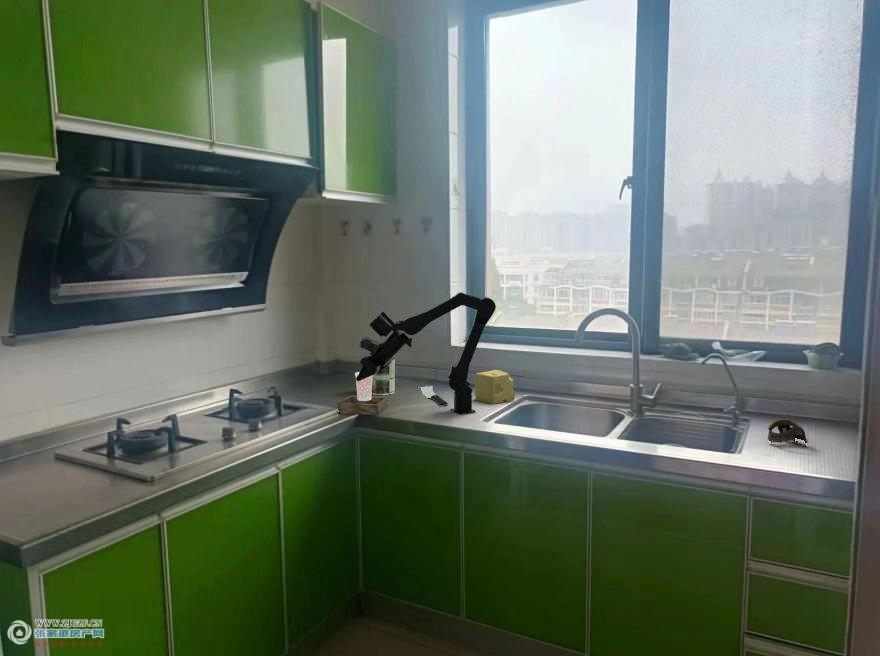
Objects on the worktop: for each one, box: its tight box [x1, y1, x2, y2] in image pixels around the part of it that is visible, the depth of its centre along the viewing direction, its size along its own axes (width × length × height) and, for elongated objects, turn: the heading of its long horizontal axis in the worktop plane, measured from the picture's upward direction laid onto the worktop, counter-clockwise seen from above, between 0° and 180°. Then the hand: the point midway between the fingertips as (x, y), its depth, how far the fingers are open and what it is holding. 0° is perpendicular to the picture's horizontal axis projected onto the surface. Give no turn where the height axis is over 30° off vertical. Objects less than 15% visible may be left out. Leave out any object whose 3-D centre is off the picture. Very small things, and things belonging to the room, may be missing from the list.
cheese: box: [474, 369, 516, 405], centre depth 230 cm, size 10×11×10 cm
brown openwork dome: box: [767, 418, 809, 444], centre depth 177 cm, size 12×10×8 cm
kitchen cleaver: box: [419, 385, 449, 407], centre depth 235 cm, size 31×2×10 cm
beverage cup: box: [354, 371, 373, 401], centre depth 214 cm, size 6×6×14 cm
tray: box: [336, 394, 390, 416], centre depth 214 cm, size 14×12×3 cm
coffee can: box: [368, 354, 396, 396], centre depth 241 cm, size 10×10×14 cm
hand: (360, 378), depth 214 cm, fingers closed on beverage cup, 6 cm apart
